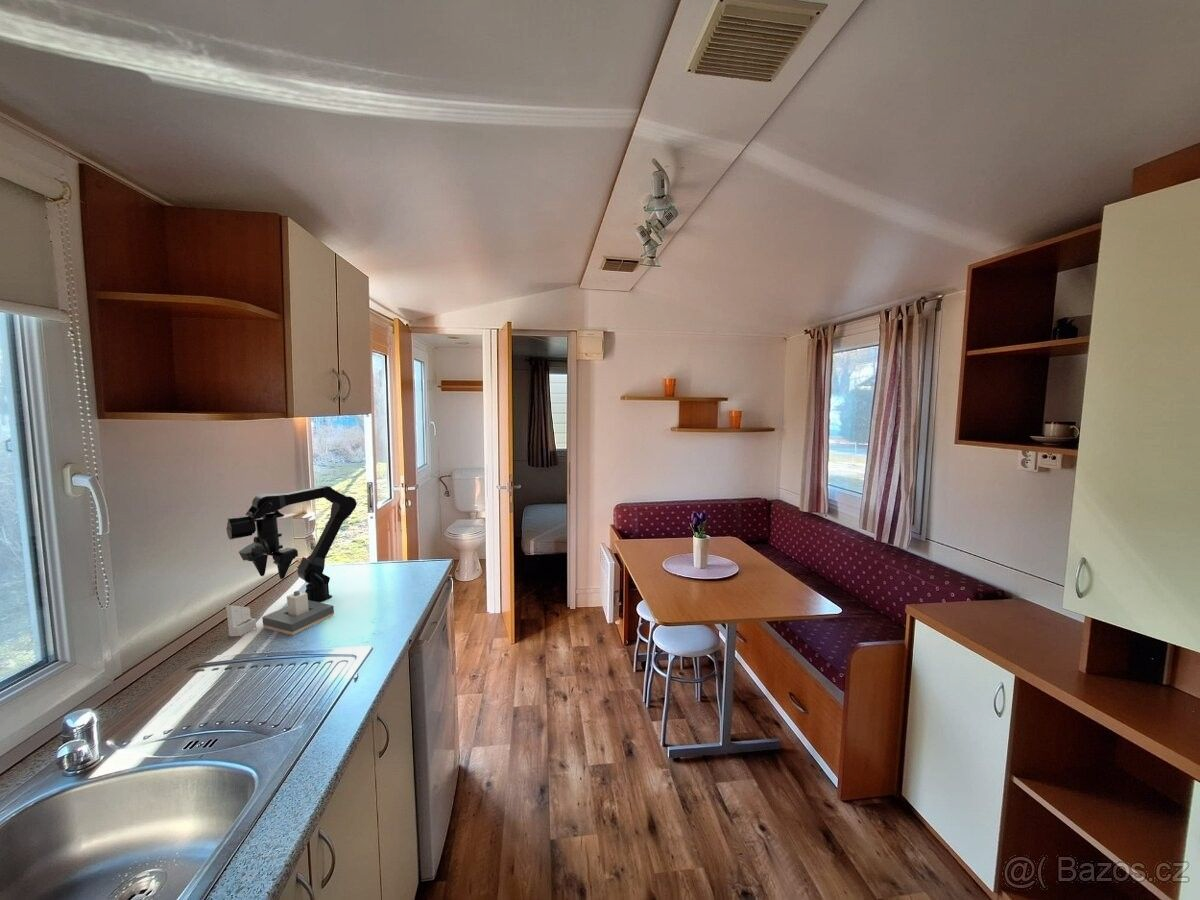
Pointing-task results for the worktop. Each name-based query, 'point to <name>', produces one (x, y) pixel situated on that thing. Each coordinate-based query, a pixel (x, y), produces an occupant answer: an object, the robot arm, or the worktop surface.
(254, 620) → the white wedge bracket
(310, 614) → the socket
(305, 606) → the plug
